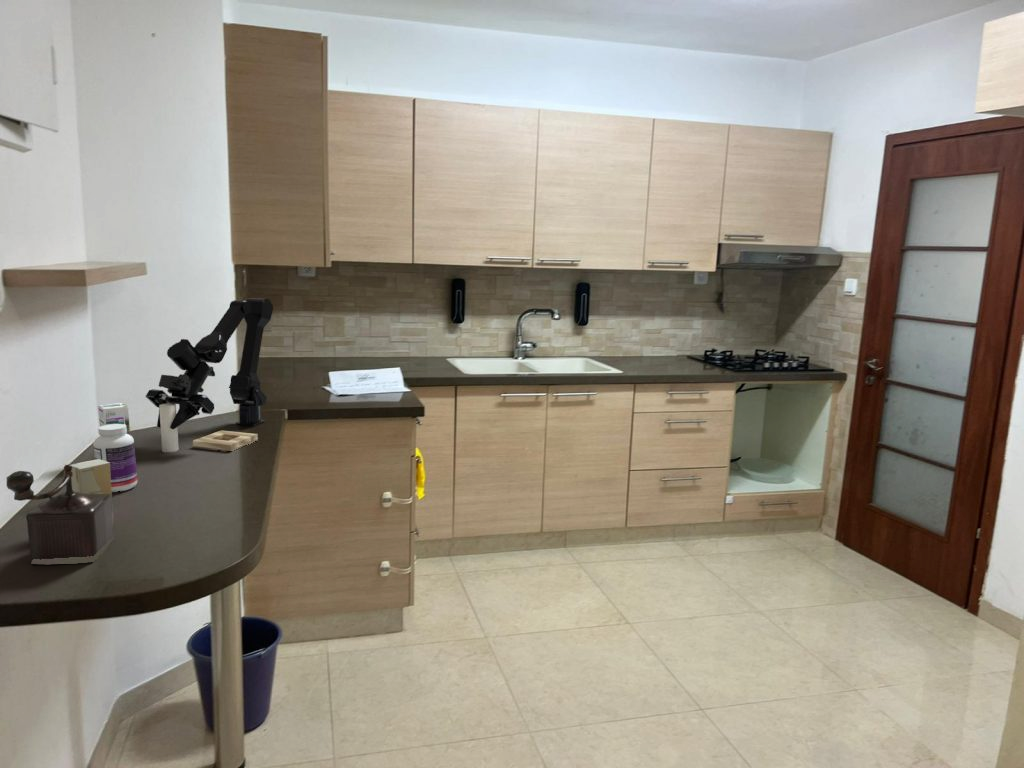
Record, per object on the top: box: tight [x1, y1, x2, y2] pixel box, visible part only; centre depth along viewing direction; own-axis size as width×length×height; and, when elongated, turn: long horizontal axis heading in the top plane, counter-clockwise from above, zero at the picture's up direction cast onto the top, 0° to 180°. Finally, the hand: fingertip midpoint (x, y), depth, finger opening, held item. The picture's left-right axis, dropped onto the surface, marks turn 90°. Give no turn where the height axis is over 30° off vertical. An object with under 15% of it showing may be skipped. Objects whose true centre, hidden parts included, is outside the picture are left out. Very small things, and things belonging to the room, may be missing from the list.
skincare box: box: [70, 459, 114, 518], centre depth 142 cm, size 6×4×12 cm
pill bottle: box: [92, 424, 138, 493], centre depth 162 cm, size 8×8×14 cm
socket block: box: [192, 430, 259, 452], centre depth 200 cm, size 12×12×2 cm
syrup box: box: [97, 402, 131, 435], centre depth 182 cm, size 6×6×14 cm
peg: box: [158, 403, 180, 453], centre depth 192 cm, size 4×4×12 cm
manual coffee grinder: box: [6, 463, 115, 561], centre depth 125 cm, size 16×11×18 cm
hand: (164, 427), depth 191 cm, fingers closed on peg, 4 cm apart
